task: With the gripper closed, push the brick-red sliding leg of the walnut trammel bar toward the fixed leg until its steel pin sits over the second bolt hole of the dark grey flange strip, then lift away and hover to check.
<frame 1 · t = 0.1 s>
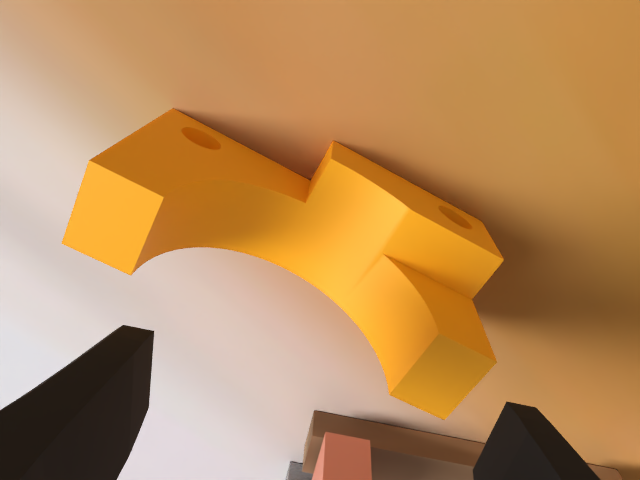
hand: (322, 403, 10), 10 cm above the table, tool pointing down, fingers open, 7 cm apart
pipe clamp: (316, 192, 19), on the table
trammel bar: (459, 457, 24), on the table
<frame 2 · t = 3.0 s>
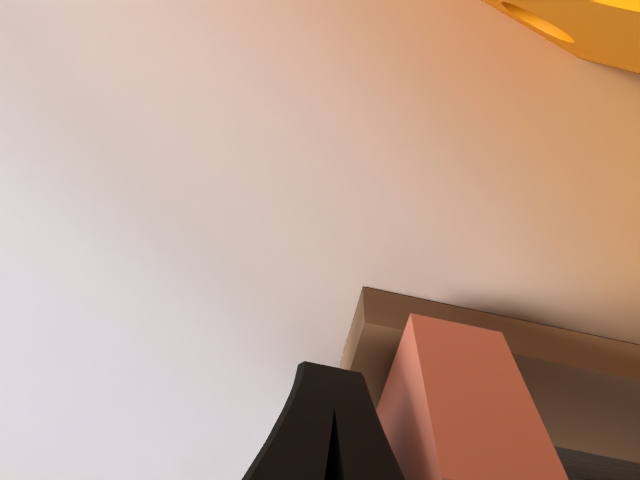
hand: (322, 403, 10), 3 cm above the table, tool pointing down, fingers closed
trammel bar: (630, 383, 13), on the table
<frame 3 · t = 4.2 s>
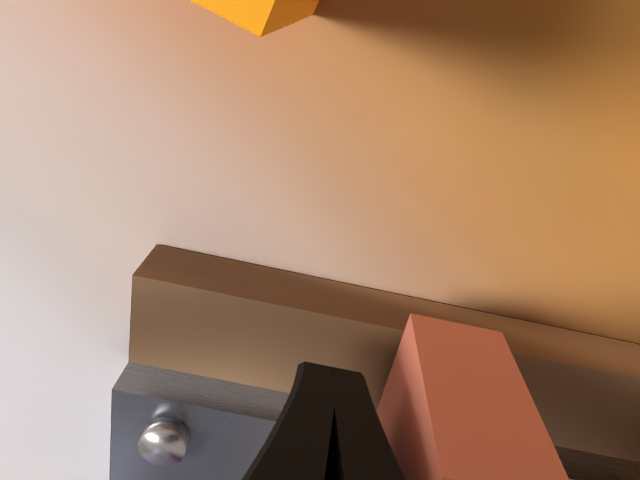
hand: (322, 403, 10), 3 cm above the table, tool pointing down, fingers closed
trammel bar: (442, 344, 13), on the table
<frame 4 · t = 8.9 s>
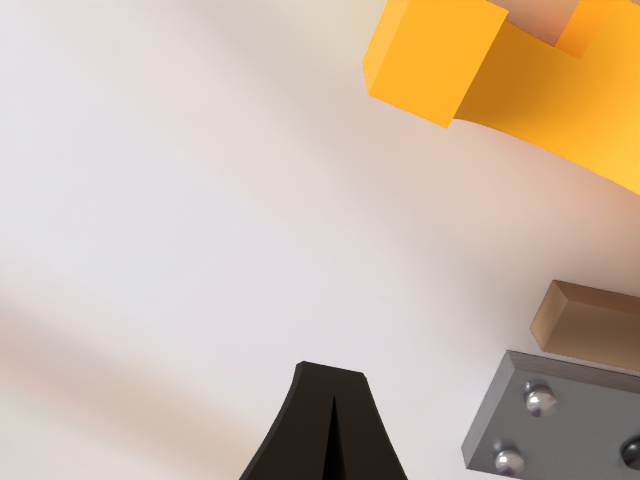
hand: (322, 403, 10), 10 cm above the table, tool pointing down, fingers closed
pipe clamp: (552, 68, 17), on the table
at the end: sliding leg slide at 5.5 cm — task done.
